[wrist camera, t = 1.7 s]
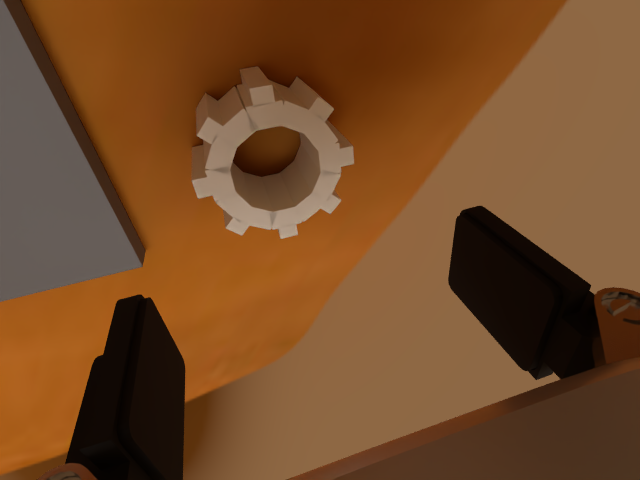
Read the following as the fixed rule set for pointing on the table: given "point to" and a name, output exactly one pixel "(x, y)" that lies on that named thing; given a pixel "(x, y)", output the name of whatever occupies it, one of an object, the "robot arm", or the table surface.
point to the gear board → (51, 178)
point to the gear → (277, 189)
